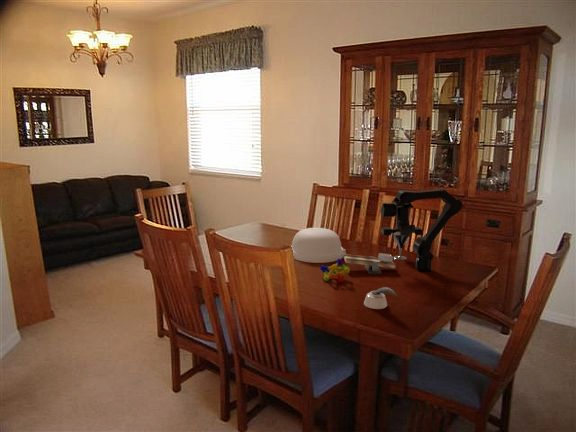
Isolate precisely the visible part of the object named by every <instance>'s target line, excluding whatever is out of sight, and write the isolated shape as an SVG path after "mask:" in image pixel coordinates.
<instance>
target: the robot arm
mask: <svg viewBox="0 0 576 432" xmlns="http://www.w3.org/2000/svg"><path fill="white" fill-rule="evenodd" d="M429 199H431V200H432V199H440V200H441V201H442V202H443V203H444V204H443V207H442V211H441V213H440V215H439V216H438V217H437V218H436V220H435V221H434V223H433V224H432V225H431V226H430V228H429V229H428V230H427V231H426V233H425V235H424V231H423V229H422V228H421V227H419V226H416V225H415V224H410V219H409V218H410V209H414V208H415V206H414V205H413V204H412V203H413V202H416V201H420V200H429ZM381 204H382V205H381V207H380V212H379V213H380V216H381V218H394V217H395V220H396V222H395V228H391V227H390V226H382V227H381V229H380V230H381V232H380V233H382V235H383V236H392V235H393V237H394V236H395V237H396V238H397V240H398V243H399V246H398V248H399V247H400V249H401V250H402V249H403V247H404V246H405V244H406V243H405V241H406V239H407V238H408V239H409V238H411V235H412V234H415V235H416V236H418V237H417V238H416V239H415V241H413V245H412V249H413V251H414V253H415V254H416V259H415V264H414V265H415V269H416V270H417V271H418V272H432V271H433V270H432V261H433V258H434V255H433V253H431V249H432V247H433V242H434V241H435V239H436V238H437V237H438V235H439V234H440V232H441V231H442V230H443V229H444V227H445V225H446V224H447V223H448V222H449V221H450V219H451V218H452V217H454V216H455V215H457V214H458V213H459V212H460V211H461V210H462V209H463V207H464V205H463V202H462V200H460V199H458V198H455V197H454V196H453V195H451V194H450V193H449V192H448V191H447V189H443V188H438V189H430V190H429V189H427V190H417V191H415V190H414V191H413V190H408V189H407V190H406V189H400V190H398V191H397V192H396V195H395V197H394V199H393V200H392V201H391V202H382V203H381ZM401 235H402V236H401ZM423 235H424V236H423ZM420 236H421V237H420ZM404 243H405V244H404Z"/></svg>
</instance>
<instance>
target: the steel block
mask: <svg viewBox="0 0 576 432" xmlns="http://www.w3.org/2000/svg"><path fill="white" fill-rule="evenodd" d="M393 257H394V256H392V254H390V253H382V252H379V253H378V256H377V258H378V261H379V262H387V263H392V260H393V261H394V258H393Z"/></svg>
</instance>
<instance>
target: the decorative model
mask: <svg viewBox="0 0 576 432" xmlns="http://www.w3.org/2000/svg"><path fill="white" fill-rule="evenodd" d="M340 265H341V266H340ZM319 269H320V270H321V271H322V272H323V275H324V276H323V280H324V281H325V282H327V281H329V280H337V281H338V283H340V284H342V283H343V282H344V277H346V275H347V274H349V273H350V271H351V269H350V267H349V266H346V265H345V264H344V263H343V260H342V259H337V261H336V263H334V264H332V265H330V266H326V265H321V266H320V268H319ZM329 269H330V270H329ZM327 273H328V274H327Z"/></svg>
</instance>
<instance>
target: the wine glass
mask: <svg viewBox="0 0 576 432" xmlns="http://www.w3.org/2000/svg"><path fill="white" fill-rule="evenodd" d="M401 236H402V235H401ZM393 240H394V242H395V243H396V245H397V246H398V249H399V254H398V255H394V256H393V260H397V261H399V260H400V261H405V260H407V257H406V256H403V255H402V249H400V247H399V243H398V240H397V238H396V237H395V236H394V235H393ZM408 240H409V237H408V238H407V239H406V241H405V243H404V245H405V244H407V242H408Z"/></svg>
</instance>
